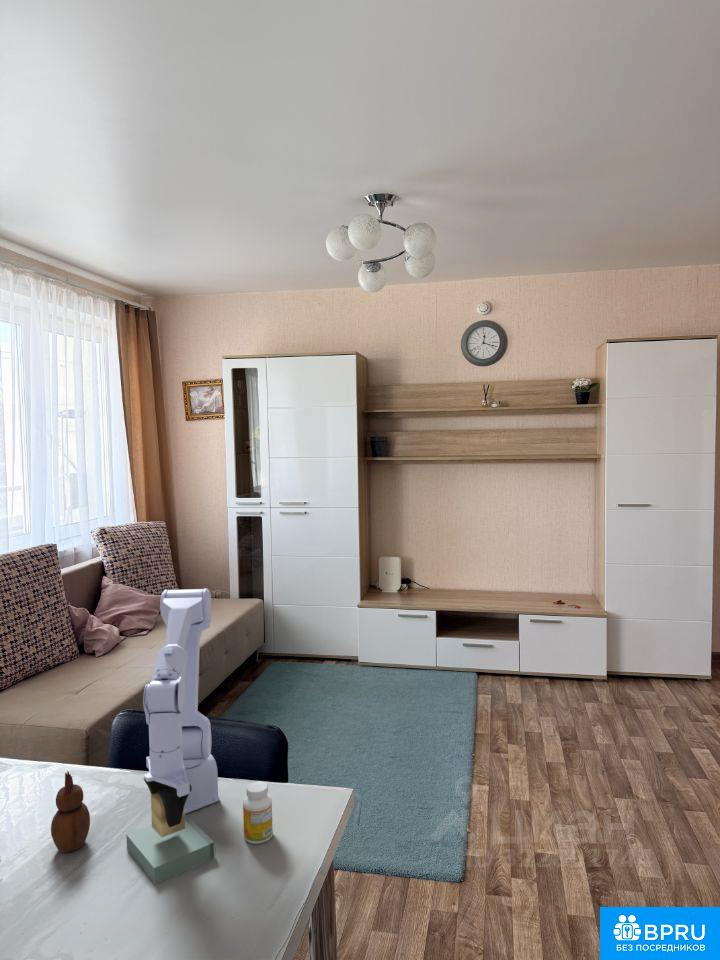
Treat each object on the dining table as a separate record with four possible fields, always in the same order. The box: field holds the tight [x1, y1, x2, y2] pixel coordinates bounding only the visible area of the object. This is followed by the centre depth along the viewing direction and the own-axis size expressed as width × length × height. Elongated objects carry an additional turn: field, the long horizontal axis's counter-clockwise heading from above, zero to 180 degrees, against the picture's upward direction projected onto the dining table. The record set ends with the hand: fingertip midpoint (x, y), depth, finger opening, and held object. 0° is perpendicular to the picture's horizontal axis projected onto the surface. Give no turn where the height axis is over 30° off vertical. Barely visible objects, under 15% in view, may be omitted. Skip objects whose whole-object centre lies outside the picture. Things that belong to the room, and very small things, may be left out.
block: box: [150, 793, 186, 837], centre depth 123 cm, size 4×4×6 cm
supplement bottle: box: [242, 781, 274, 845], centre depth 128 cm, size 5×5×10 cm
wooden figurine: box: [50, 770, 91, 853], centre depth 126 cm, size 7×6×15 cm
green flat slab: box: [125, 814, 215, 884], centre depth 124 cm, size 11×13×3 cm
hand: (168, 818), depth 123 cm, fingers closed on block, 4 cm apart
